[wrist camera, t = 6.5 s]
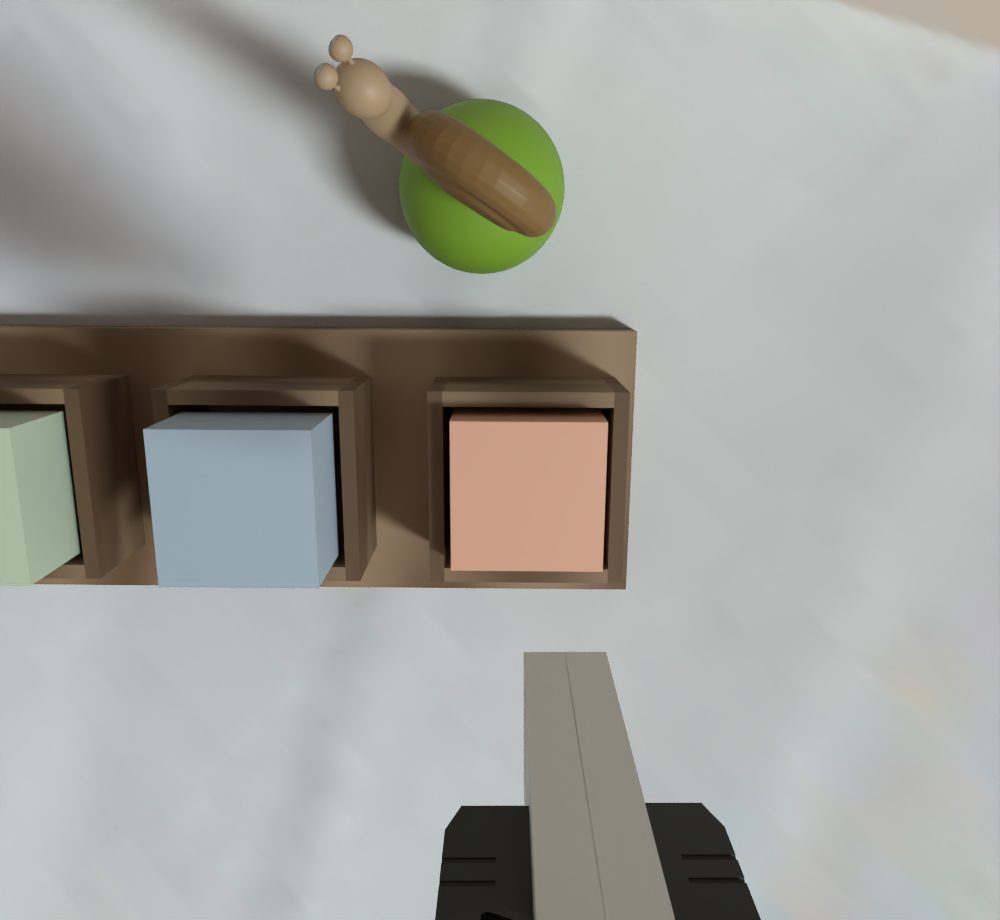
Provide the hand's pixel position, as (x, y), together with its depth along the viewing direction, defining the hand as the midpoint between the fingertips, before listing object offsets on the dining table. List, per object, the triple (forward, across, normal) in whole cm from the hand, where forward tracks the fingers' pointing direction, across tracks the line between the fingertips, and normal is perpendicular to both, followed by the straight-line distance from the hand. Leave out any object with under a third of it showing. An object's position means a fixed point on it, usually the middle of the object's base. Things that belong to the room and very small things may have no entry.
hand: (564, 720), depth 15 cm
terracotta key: (+15, 0, +1) cm, 15 cm away
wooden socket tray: (+17, -9, +1) cm, 20 cm away
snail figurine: (+18, -2, +11) cm, 21 cm away
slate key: (+13, -9, +1) cm, 16 cm away
